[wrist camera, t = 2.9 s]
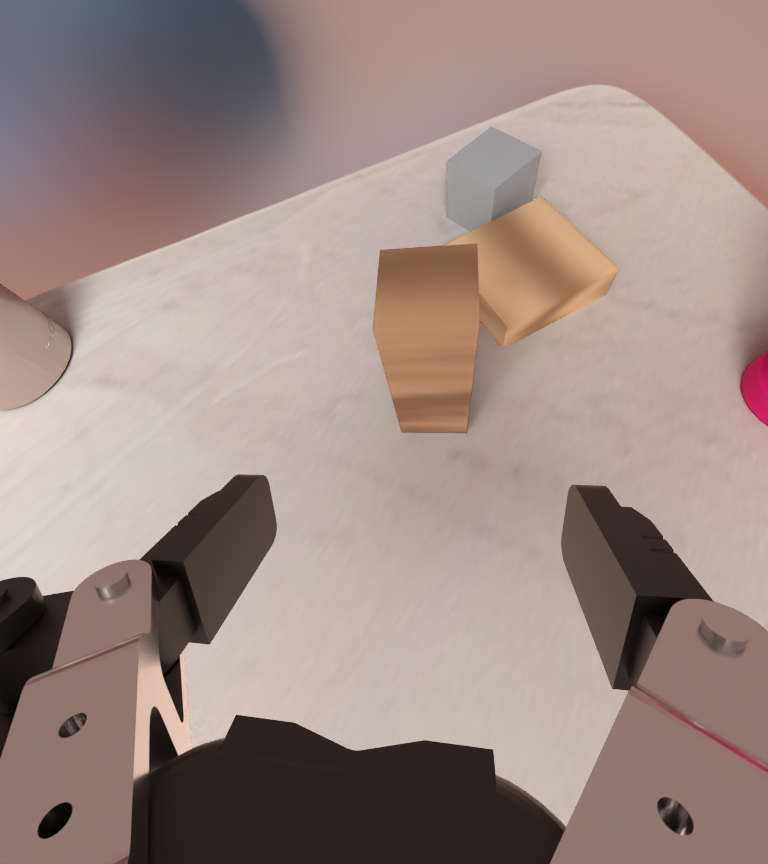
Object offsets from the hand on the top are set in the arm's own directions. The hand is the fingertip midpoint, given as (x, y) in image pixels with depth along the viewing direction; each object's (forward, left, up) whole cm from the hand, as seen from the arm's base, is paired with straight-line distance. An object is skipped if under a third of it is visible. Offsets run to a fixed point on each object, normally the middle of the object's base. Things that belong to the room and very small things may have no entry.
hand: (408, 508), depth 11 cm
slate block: (+18, +23, -15) cm, 33 cm away
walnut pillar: (+5, +9, -15) cm, 19 cm away
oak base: (+16, +15, -16) cm, 27 cm away
